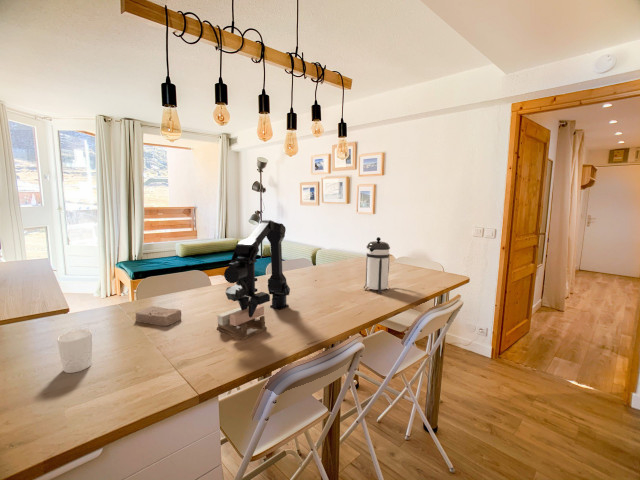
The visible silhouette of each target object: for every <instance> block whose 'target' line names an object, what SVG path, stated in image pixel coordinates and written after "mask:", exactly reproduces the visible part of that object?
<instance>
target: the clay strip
mask: <svg viewBox="0 0 640 480" xmlns="http://www.w3.org/2000/svg"><path fill="white" fill-rule="evenodd" d="M264 315H265V306H264V305H262V304H260V305H258V306H257V307H256V310H255V312H254V314H253V316H252V317H251V318H250V317H249V310H248V308H247V309H244V310H242V311H239V312H236V313H233V314H231V315H230V324H231V325H234V326H237V325H239V324H242V323H244V322H247V321H249V320H252V319H254V318H256V319H258V317H259V318H260V317H261V316H264Z"/></svg>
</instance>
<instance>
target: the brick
mask: <svg viewBox="0 0 640 480" xmlns="http://www.w3.org/2000/svg"><path fill="white" fill-rule="evenodd" d="M181 319H182V310H181V309H177V308H165V307H160V306H147V307H145V308H143V309H140V310H138V311H136V312H135V322H136V321H137V323H142V322H144V323H143V324H148V323H149V325H155V326H160V327H167V326H170V325H172V324H175V323H177V322H178V321H181Z"/></svg>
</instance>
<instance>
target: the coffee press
mask: <svg viewBox="0 0 640 480" xmlns="http://www.w3.org/2000/svg"><path fill="white" fill-rule="evenodd" d="M390 250H391V246H390V244H389V243H388V242H385V241H381V237H376V241H370V242H368V244H367V245H366V259H365V260H366V263H365V264H366V265H365V284H364V287H363V288H364V289H366V290H367V289H371V290H377V292H379V293H378V294H382V291H383V290H387V289H389V290H390V289H391V288H390V287H389V272H390Z"/></svg>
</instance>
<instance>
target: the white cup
mask: <svg viewBox="0 0 640 480" xmlns="http://www.w3.org/2000/svg"><path fill="white" fill-rule="evenodd" d="M57 345H58V350H59V351H58V352H59V357H60V361H61V366H62V370H63V372H64V373H67V374H71V373H73V374H74V373H78V372H82V371H84V370H86V369H88V368H89V367H91V366H92V364H93V333H92V330H90V329H78V330H77V329H76V330H73V331H68V332H66V333H63V334H61V335H59V336H58V337H57Z"/></svg>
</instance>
